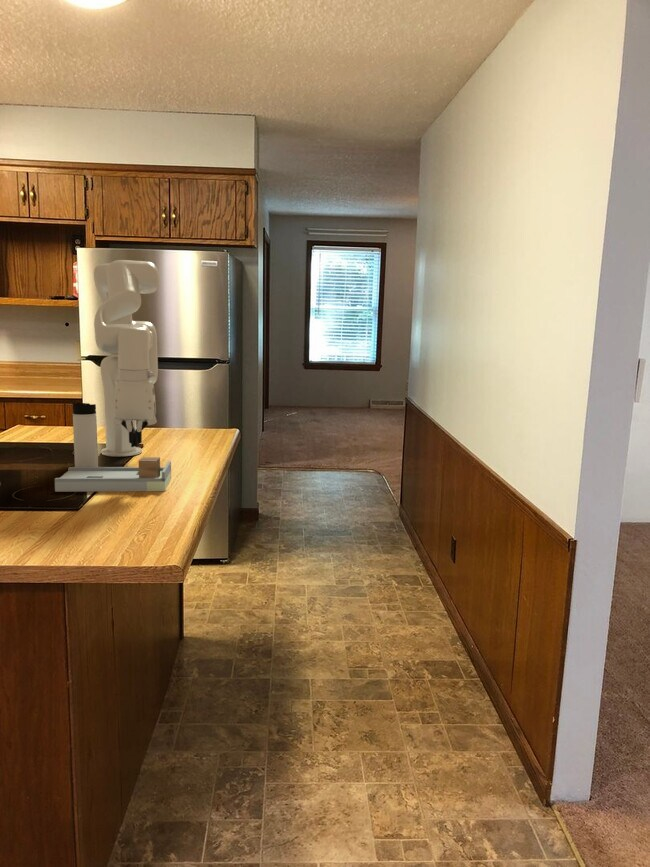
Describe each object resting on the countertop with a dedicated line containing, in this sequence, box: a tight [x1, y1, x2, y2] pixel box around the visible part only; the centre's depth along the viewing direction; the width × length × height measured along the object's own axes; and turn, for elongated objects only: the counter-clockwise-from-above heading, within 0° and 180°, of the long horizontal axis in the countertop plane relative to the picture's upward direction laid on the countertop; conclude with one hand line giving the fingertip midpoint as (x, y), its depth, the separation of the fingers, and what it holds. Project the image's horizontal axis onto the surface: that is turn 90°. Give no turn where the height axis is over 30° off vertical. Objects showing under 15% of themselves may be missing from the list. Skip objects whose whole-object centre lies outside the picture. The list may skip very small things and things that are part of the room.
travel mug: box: [71, 401, 99, 467], centre depth 180 cm, size 6×7×20 cm
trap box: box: [54, 460, 172, 493], centre depth 167 cm, size 13×27×5 cm, turn 96°
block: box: [138, 456, 161, 478], centre depth 165 cm, size 4×4×5 cm
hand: (135, 445), depth 166 cm, fingers closed
